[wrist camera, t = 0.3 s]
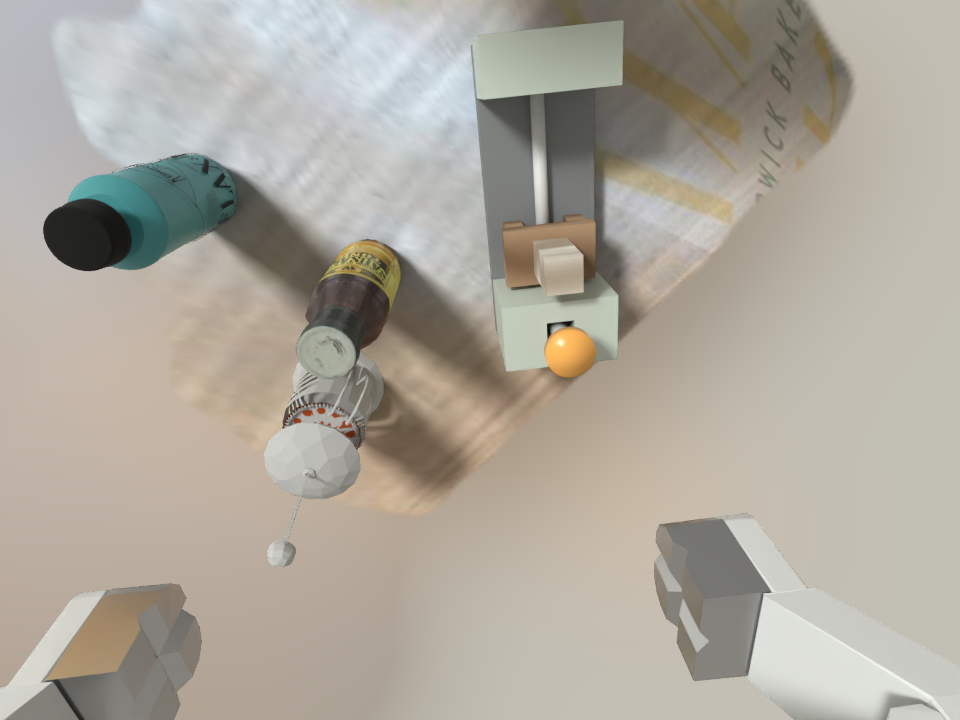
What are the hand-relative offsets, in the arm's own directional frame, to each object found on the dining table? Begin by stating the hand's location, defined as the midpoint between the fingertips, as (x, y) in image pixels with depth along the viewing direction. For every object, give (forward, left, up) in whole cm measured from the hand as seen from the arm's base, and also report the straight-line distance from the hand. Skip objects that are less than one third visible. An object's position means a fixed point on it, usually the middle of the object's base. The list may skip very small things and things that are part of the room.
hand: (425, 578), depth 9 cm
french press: (+19, -13, -47) cm, 52 cm away
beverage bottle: (-2, -21, -47) cm, 51 cm away
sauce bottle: (+7, -8, -47) cm, 48 cm away
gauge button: (+12, +9, -38) cm, 41 cm away
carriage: (+6, +9, -44) cm, 45 cm away
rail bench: (+2, +9, -46) cm, 47 cm away
